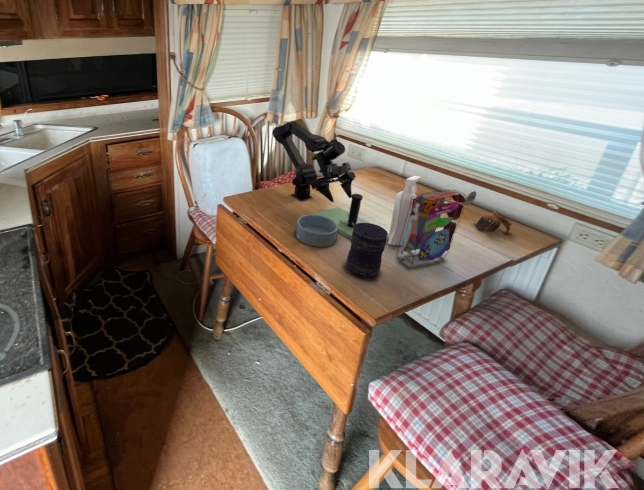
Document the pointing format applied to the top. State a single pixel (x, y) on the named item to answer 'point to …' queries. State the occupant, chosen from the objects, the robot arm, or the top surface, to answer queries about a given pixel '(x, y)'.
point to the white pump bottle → (402, 211)
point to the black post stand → (353, 211)
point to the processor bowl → (316, 230)
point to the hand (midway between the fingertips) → (341, 199)
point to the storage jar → (366, 250)
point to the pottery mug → (492, 222)
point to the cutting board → (336, 216)
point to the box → (432, 224)
